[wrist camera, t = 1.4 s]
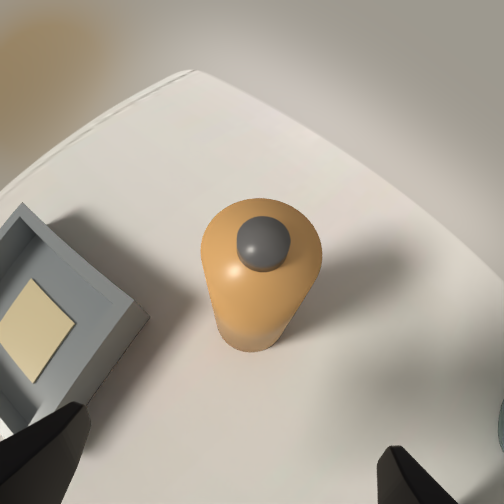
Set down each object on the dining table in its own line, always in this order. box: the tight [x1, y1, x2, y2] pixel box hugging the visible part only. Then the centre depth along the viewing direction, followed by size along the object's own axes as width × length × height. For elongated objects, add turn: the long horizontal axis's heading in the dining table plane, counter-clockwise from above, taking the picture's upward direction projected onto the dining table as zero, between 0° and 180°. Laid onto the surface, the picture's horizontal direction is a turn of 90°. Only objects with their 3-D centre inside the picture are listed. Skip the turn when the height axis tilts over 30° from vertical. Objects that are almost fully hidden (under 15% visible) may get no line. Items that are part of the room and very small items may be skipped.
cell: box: [201, 198, 322, 352], centre depth 17 cm, size 5×5×12 cm
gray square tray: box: [0, 202, 150, 439], centre depth 19 cm, size 14×14×4 cm
